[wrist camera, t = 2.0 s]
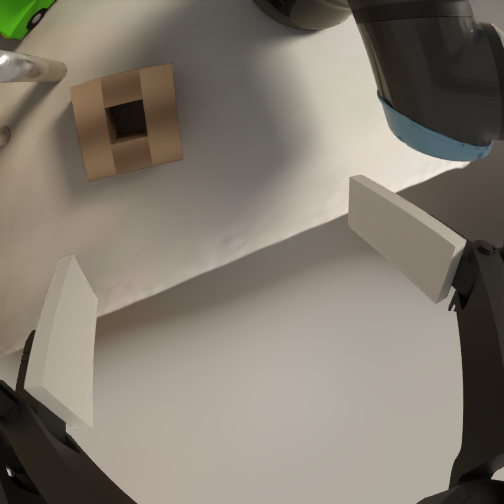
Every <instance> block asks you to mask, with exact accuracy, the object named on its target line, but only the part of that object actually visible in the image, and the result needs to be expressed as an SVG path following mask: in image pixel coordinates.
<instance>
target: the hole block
mask: <svg viewBox="0 0 504 504" xmlns="http://www.w3.org/2000/svg"><path fill="white" fill-rule="evenodd" d="M70 90H71V98H72V105H73V111H74V117H75V123H76V128H77V133H78V139H79V143H80V148H81V153H82V157H83V162H84V166H85V170H86V174H87V178H88V182H92V181H95V180H99V179H102V178H106V177H110V176H114V175H117V174H121V173H125V172H129V171H134V170H138V169H142V168H146V167H151V166H155V165H160V164H165V163H169V162H174V161H179V160H183V154H182V147H181V139H180V132H179V124H178V115H177V107H176V98H175V88H174V78H173V68H172V63H169V64H163V65H157V66H152V67H146V68H141V69H137V70H132V71H127V72H123V73H119V74H115V75H111V76H107V77H103V78H100V79H96V80H93V81H89V82H86V83H83V84H80V85H77V86H74V87H71V88H70ZM141 99H143V105H144V112H145V120H146V126H147V129H145V130H140V131H136V132H132V133H127V134H123V135H119V136H117V132H116V126H115V120H114V114H113V107H112V106H115V105H119V104H123V103H128V102H132V101H136V100H141Z"/></svg>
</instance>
